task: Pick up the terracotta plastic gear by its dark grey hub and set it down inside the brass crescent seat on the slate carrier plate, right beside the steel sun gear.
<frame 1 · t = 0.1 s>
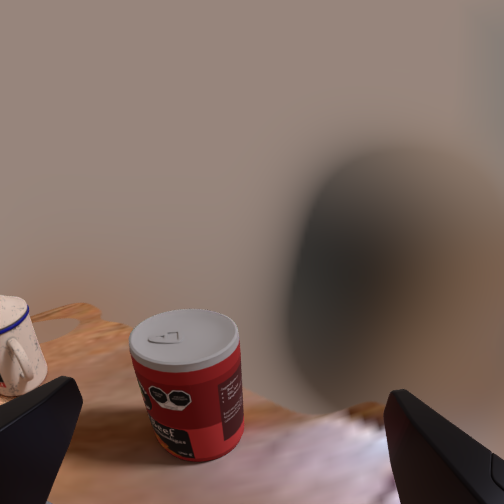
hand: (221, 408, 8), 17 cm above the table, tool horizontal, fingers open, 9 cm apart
canned food: (200, 433, 25), on the table
teacup with lid: (24, 382, 28), on the table
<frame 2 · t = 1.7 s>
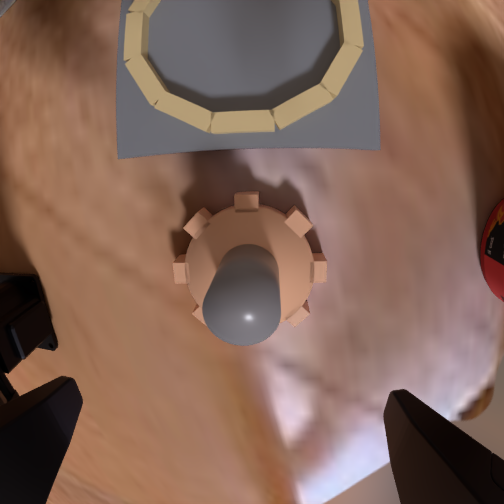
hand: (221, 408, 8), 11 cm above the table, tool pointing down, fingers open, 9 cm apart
planet gear: (250, 263, 18), on the table
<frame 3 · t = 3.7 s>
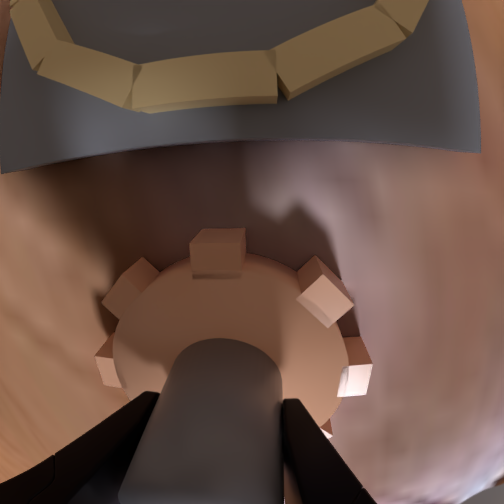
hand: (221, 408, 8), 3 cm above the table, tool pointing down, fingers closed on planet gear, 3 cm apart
planet gear: (231, 354, 10), on the table, touching gripper
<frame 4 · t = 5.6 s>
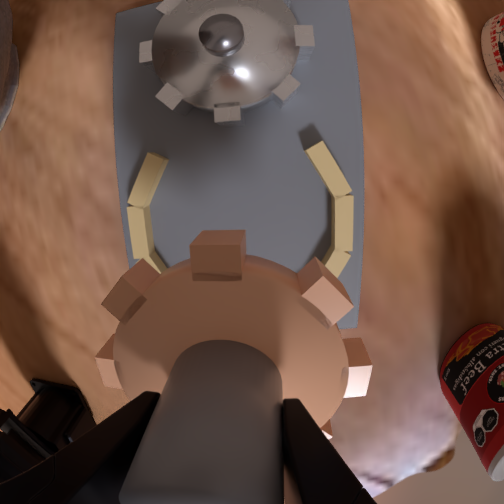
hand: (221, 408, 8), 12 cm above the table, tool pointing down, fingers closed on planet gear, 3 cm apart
sun gear: (232, 60, 16), resting on carrier plate
canned food: (471, 358, 21), on the table
carrier plate: (237, 158, 18), on the table
planet gear: (232, 355, 10), point 10 cm above the table, touching gripper
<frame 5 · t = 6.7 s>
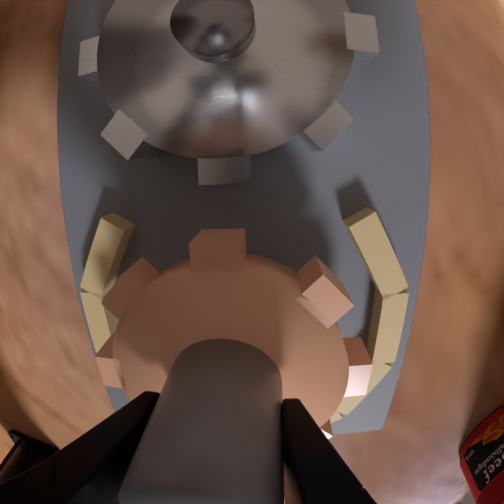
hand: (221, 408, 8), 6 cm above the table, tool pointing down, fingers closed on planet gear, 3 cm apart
sun gear: (233, 65, 10), resting on carrier plate
canned food: (495, 430, 16), on the table
carrier plate: (238, 221, 12), on the table
planet gear: (231, 354, 10), point 3 cm above the table, touching gripper
when the fingers open (5 cm above the table, at t = 7.4 s): planet gear drops 1 cm, resting on carrier plate.
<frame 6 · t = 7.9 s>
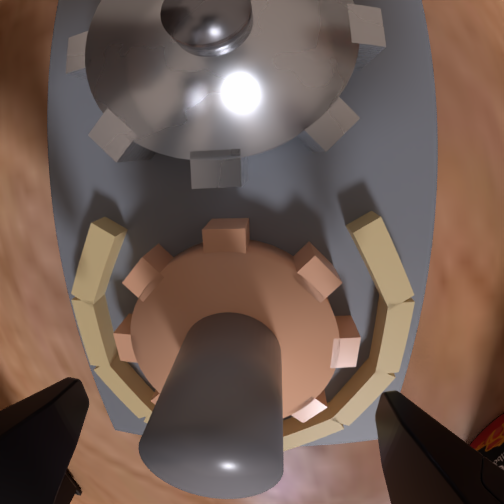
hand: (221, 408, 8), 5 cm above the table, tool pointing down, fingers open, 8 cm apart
sun gear: (230, 61, 10), resting on carrier plate
canned food: (498, 436, 15), on the table
carrier plate: (236, 225, 11), on the table
planet gear: (236, 331, 11), point 1 cm above the table, touching carrier plate
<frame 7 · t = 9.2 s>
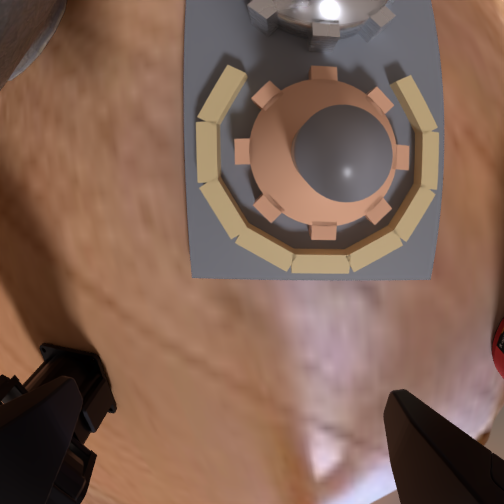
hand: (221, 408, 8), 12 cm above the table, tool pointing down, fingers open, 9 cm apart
carrier plate: (318, 87, 15), on the table
planet gear: (321, 152, 15), point 1 cm above the table, touching carrier plate
pot: (23, 33, 15), on the table
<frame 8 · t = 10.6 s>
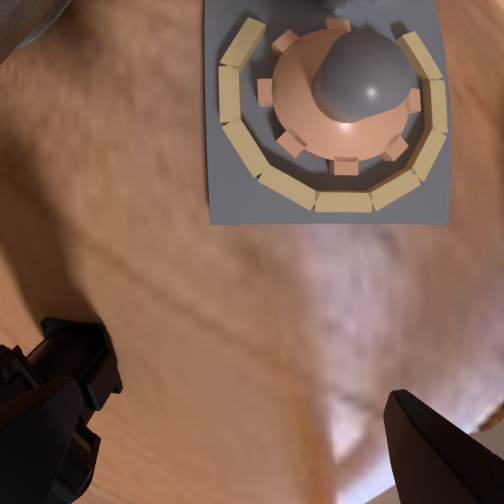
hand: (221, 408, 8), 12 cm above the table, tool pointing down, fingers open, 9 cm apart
carrier plate: (330, 43, 15), on the table
planet gear: (338, 97, 15), point 1 cm above the table, touching carrier plate
pot: (39, 4, 14), on the table
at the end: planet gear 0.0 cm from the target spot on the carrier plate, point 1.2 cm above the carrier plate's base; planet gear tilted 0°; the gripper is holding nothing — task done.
